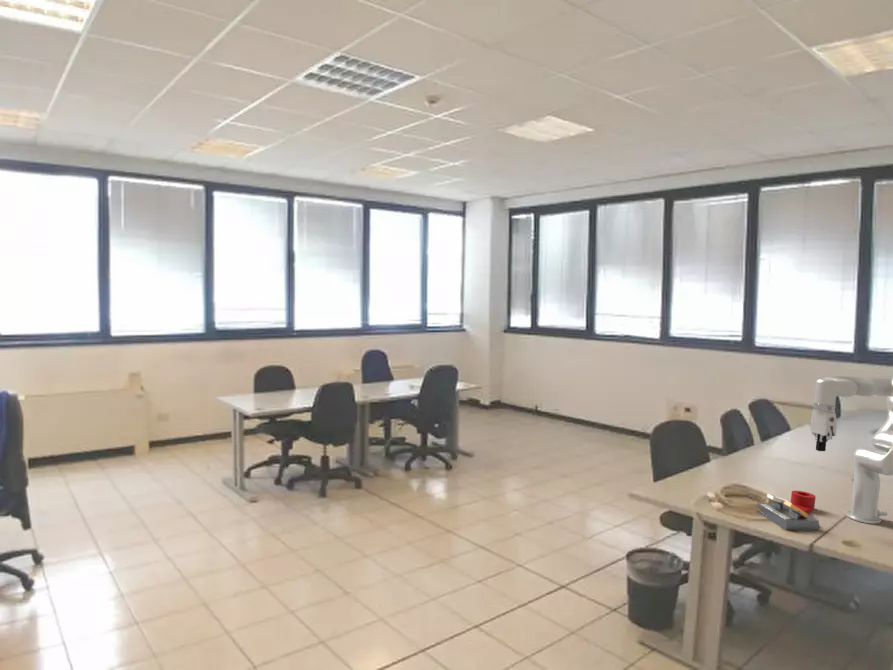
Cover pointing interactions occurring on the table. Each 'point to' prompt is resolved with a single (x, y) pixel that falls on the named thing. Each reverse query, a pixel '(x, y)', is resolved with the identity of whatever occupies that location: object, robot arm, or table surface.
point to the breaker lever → (796, 509)
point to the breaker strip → (787, 517)
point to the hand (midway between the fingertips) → (820, 450)
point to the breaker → (776, 498)
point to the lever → (803, 501)
